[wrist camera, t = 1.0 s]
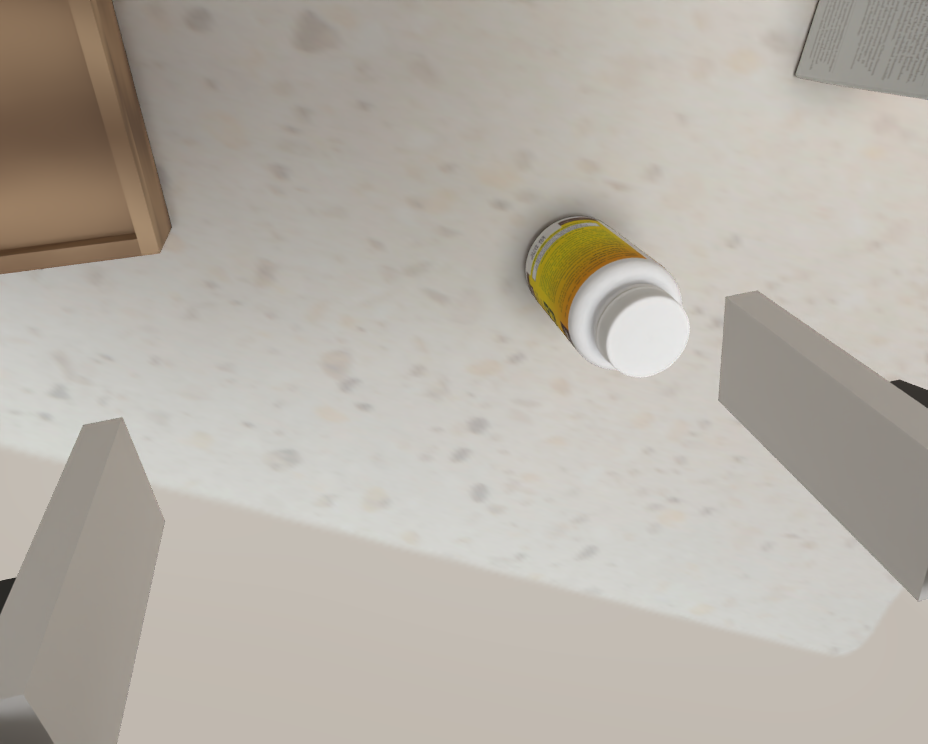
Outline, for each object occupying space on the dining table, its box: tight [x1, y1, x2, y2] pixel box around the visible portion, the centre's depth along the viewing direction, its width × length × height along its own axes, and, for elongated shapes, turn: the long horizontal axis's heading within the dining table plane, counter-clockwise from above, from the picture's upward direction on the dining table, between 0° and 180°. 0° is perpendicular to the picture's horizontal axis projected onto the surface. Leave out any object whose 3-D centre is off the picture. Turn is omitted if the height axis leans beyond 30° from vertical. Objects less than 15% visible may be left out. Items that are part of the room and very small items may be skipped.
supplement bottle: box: [526, 216, 690, 378], centre depth 37 cm, size 6×6×10 cm
